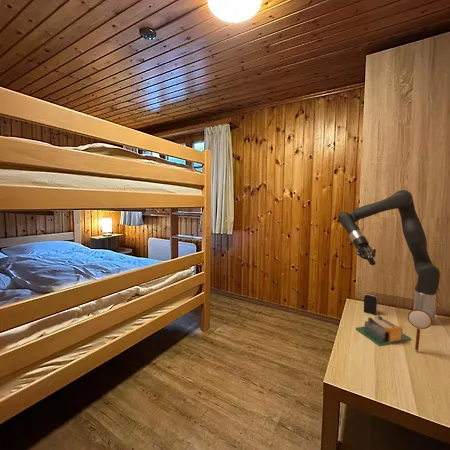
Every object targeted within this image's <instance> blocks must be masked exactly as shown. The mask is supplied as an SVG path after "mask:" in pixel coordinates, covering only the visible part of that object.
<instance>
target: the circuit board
mask: <svg viewBox="0 0 450 450" xmlns="http://www.w3.org/2000/svg"><path fill="white" fill-rule="evenodd" d="M378 318H379V319H380V320H382V321H383V322H385V323H387V324H388V325H390V326H391V327H392V328H388V327H385V329H384V328H383V327H381V326H380V325H378V324H377V323H375V322H374V321H373V319H374V318H372V317H369V316H368V318H367V319H368V320H366V321H364V326H359V327H358V326H357V327H355V330H356V331H357V332H358V333H360V334H361V335H363V336H364V337H365V338H367V339H369V341H371V342H373V343H374V344H375V345H377V346H379V347H382V346H386V345H388V346H389V345H392V344H399V343H403V342H409V341H412V338H411V337H410V336H408V335H406V334H405V333H403V330H404V329H403V327H402V326H401V325H400V326H399V325H395V324H394V323H392V322H390V321H388V320H387V319H385V318H383V317H382V316H380V315H377V319H378Z"/></svg>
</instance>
